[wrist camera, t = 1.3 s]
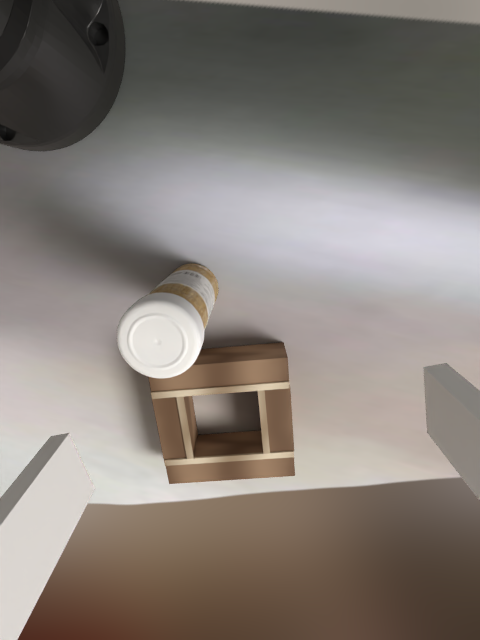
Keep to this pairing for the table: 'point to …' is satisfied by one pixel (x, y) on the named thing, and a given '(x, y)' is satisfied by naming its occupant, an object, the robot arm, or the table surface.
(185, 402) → the socket
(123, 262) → the table surface
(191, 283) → the sprinkles bottle
